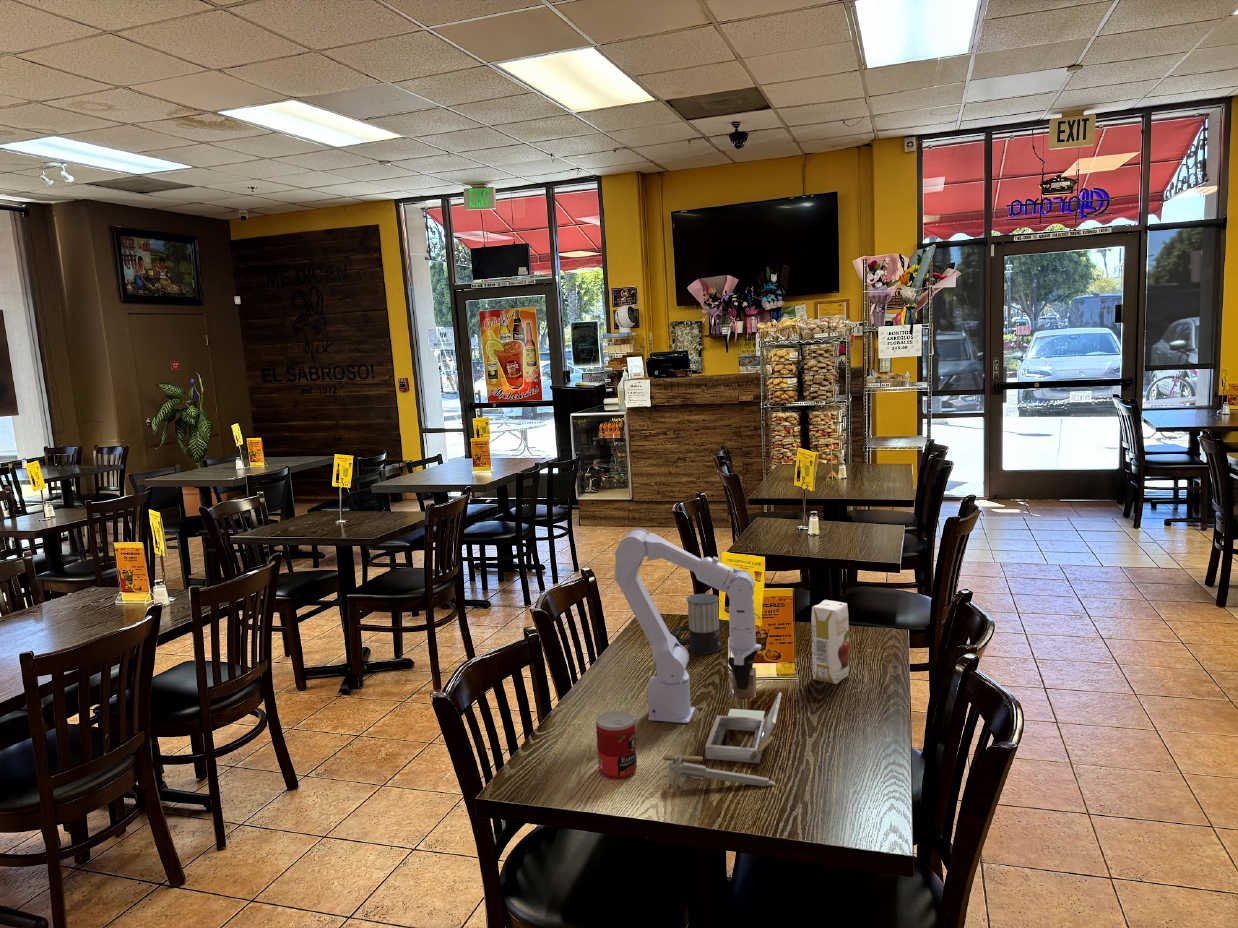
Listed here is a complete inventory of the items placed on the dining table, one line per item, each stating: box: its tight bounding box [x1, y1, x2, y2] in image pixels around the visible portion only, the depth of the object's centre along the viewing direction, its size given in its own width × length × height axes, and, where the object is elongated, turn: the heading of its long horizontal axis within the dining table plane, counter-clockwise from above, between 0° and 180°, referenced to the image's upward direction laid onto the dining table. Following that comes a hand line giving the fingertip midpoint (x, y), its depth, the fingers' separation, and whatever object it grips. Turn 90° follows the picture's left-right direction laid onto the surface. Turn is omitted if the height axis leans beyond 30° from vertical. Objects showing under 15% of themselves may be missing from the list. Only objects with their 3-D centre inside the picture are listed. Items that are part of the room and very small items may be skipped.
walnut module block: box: [732, 667, 757, 700], centre depth 187 cm, size 4×4×6 cm
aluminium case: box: [704, 714, 765, 764], centre depth 176 cm, size 11×15×3 cm
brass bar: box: [663, 753, 704, 762], centre depth 171 cm, size 8×1×1 cm, turn 76°
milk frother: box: [669, 593, 722, 655], centre depth 236 cm, size 14×16×15 cm
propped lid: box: [750, 691, 783, 761], centre depth 174 cm, size 5×16×8 cm, turn 164°
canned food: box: [595, 710, 638, 780], centre depth 167 cm, size 8×8×11 cm
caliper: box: [667, 756, 777, 789], centre depth 160 cm, size 20×1×6 cm, turn 87°
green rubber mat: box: [727, 708, 766, 719], centre depth 188 cm, size 8×8×1 cm
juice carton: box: [810, 599, 850, 685], centre depth 208 cm, size 8×9×19 cm
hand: (744, 684), depth 187 cm, fingers closed on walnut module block, 4 cm apart
